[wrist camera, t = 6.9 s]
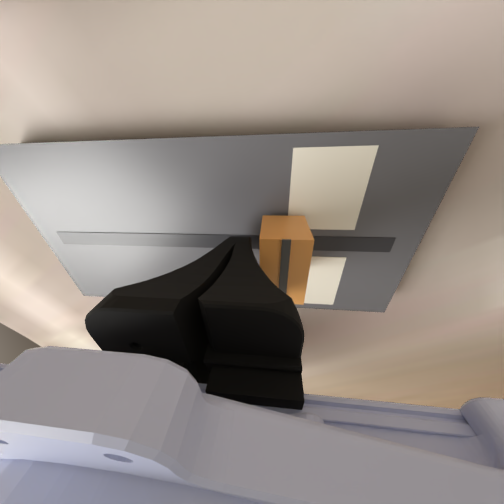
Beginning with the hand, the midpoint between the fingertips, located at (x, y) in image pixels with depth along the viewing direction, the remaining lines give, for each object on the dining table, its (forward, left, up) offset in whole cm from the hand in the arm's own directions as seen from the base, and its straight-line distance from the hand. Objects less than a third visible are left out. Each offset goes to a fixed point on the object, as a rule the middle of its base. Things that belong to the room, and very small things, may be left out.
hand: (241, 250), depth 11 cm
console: (0, +2, -3) cm, 4 cm away
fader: (0, -2, -1) cm, 3 cm away
